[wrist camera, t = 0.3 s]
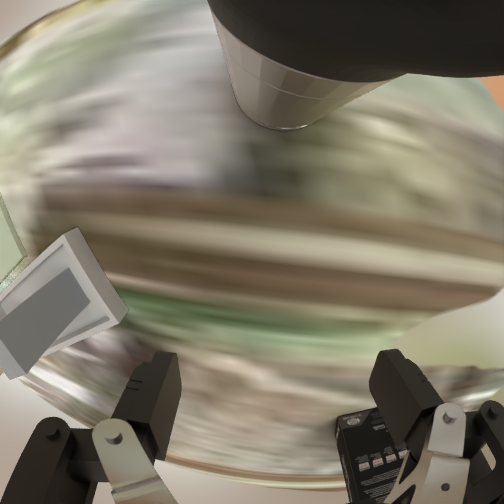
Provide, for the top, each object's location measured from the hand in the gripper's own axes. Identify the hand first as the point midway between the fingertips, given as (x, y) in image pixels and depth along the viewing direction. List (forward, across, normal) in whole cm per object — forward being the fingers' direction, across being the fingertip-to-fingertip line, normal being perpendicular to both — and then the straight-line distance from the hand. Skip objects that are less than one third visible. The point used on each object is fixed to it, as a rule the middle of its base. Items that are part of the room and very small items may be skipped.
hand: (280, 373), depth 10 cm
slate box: (+18, +24, +6) cm, 30 cm away
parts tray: (+19, +29, +9) cm, 36 cm away
